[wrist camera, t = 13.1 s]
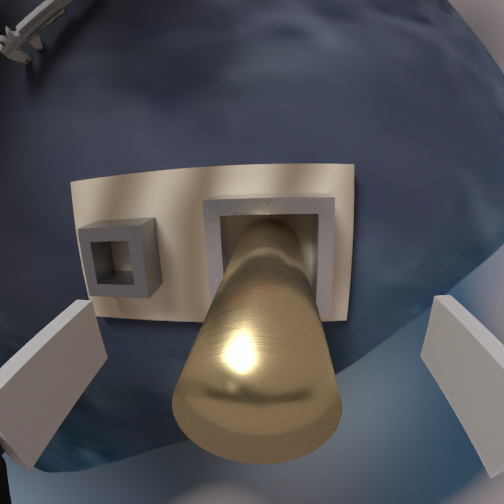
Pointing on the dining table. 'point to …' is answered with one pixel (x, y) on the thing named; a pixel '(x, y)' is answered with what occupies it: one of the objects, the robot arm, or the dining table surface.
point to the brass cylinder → (260, 358)
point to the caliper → (31, 29)
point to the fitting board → (207, 234)
